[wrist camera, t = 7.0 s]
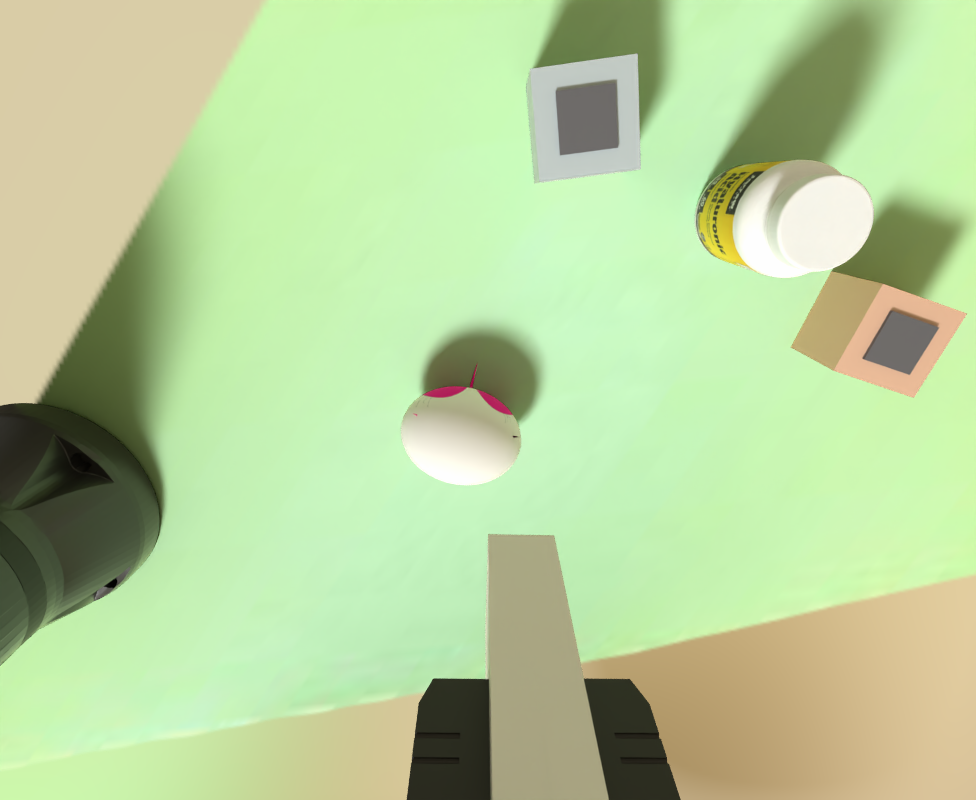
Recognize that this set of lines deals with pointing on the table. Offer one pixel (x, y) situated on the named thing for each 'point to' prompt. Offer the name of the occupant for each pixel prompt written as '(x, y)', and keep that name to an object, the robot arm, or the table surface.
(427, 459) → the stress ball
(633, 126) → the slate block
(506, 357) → the table surface
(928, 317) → the terracotta block
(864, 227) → the supplement bottle
